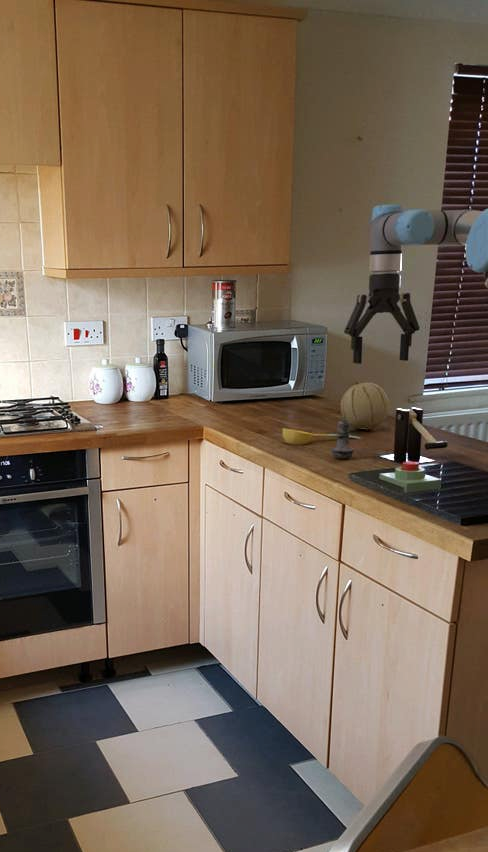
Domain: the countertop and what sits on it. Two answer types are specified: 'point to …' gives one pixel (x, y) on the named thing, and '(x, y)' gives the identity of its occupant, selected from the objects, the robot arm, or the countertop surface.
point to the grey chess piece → (343, 441)
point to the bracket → (407, 439)
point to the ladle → (302, 436)
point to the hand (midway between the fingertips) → (380, 362)
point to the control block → (411, 480)
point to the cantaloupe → (365, 405)
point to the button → (410, 466)
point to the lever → (425, 433)
